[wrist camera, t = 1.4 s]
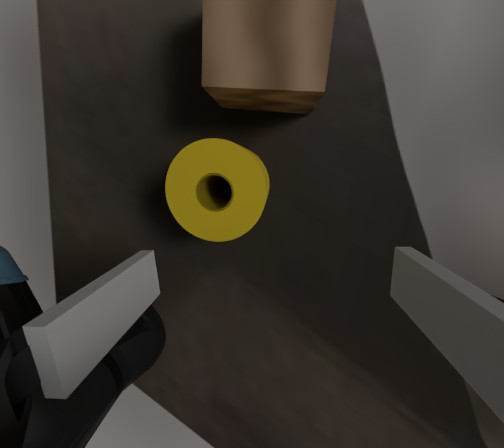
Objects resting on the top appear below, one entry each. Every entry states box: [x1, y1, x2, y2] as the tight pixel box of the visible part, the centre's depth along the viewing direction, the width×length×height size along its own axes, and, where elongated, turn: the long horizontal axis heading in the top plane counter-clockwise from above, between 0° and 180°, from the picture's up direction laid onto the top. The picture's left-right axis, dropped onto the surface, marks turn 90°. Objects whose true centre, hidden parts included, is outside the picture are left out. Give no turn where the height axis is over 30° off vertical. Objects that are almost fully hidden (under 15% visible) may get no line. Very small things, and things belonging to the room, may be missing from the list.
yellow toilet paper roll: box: [165, 138, 269, 242], centre depth 28 cm, size 10×10×9 cm
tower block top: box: [202, 0, 337, 104], centre depth 22 cm, size 11×11×4 cm
